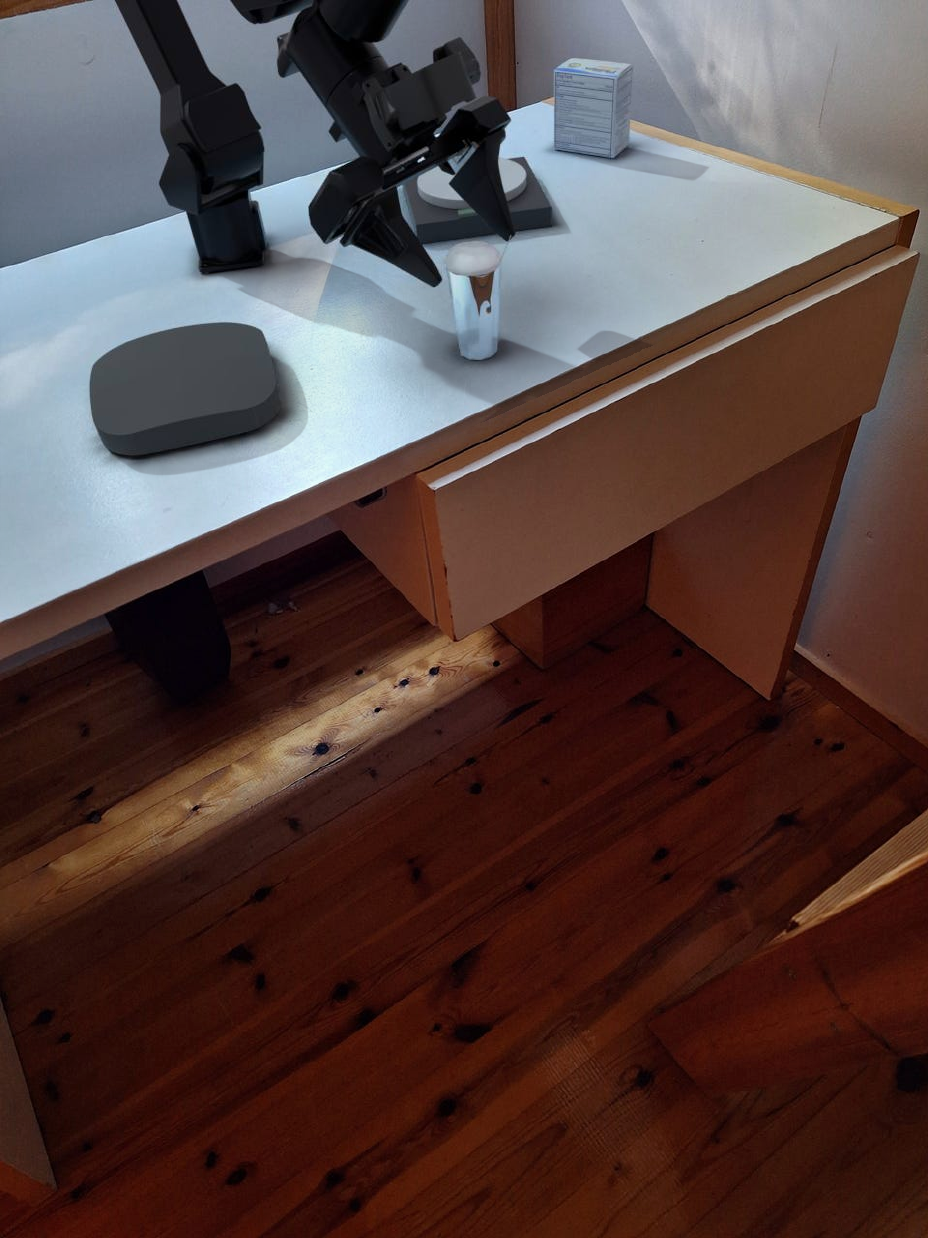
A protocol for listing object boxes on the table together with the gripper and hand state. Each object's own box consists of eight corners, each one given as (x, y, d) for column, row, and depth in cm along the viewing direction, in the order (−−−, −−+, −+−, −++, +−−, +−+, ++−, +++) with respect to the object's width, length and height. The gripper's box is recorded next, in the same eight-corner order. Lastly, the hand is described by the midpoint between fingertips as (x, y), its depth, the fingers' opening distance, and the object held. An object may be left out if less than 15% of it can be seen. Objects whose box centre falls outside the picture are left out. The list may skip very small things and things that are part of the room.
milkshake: (509, 366, 75) (505, 249, 68) (447, 363, 76) (436, 247, 69) (518, 338, 78) (515, 223, 71) (458, 335, 79) (449, 221, 72)
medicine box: (629, 146, 106) (635, 63, 100) (612, 160, 104) (617, 75, 97) (570, 137, 109) (571, 55, 103) (552, 150, 107) (552, 67, 101)
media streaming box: (102, 469, 69) (88, 436, 67) (100, 372, 79) (88, 341, 77) (289, 427, 71) (281, 395, 69) (265, 338, 81) (257, 307, 79)
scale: (417, 244, 92) (414, 214, 90) (402, 190, 102) (399, 162, 100) (551, 226, 93) (552, 196, 91) (524, 174, 103) (524, 146, 100)
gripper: (303, 43, 57) (449, 253, 60) (486, -27, 67) (605, 158, 69) (252, 151, 67) (380, 328, 70) (418, 77, 76) (525, 236, 79)
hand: (476, 260), depth 72 cm, fingers open, 9 cm apart
